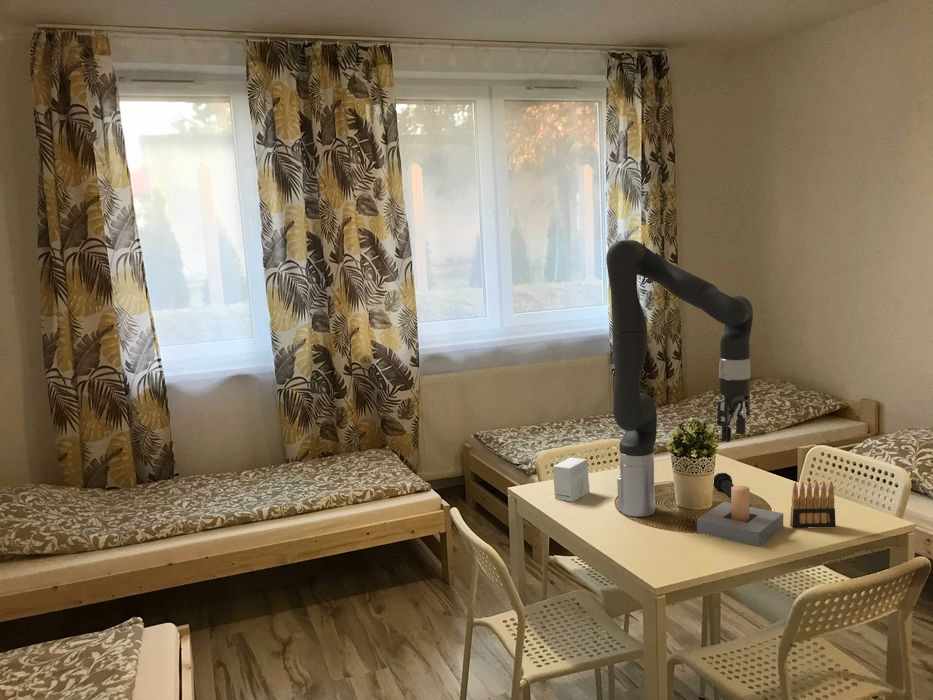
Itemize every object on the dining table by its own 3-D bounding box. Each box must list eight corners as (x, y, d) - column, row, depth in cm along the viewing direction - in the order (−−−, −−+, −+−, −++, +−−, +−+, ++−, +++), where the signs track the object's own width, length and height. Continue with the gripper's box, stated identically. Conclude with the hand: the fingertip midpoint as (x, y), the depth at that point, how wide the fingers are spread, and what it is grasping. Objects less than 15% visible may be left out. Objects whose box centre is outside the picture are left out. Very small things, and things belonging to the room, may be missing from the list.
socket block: (697, 532, 197) (696, 519, 197) (723, 514, 209) (723, 501, 208) (758, 546, 186) (758, 532, 186) (783, 526, 198) (783, 513, 198)
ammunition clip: (792, 528, 197) (792, 483, 195) (790, 525, 198) (790, 480, 197) (835, 527, 196) (836, 482, 194) (833, 524, 197) (833, 479, 196)
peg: (728, 530, 198) (728, 489, 196) (735, 525, 201) (735, 484, 199) (745, 533, 195) (745, 492, 193) (752, 528, 198) (752, 487, 196)
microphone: (754, 519, 213) (723, 488, 232) (761, 500, 211) (730, 471, 230) (736, 515, 212) (707, 484, 231) (743, 496, 210) (713, 467, 230)
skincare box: (571, 489, 237) (570, 456, 235) (589, 492, 233) (588, 459, 231) (553, 499, 229) (552, 465, 227) (572, 502, 225) (570, 468, 223)
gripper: (732, 369, 202) (731, 429, 204) (707, 378, 192) (707, 441, 194) (760, 372, 197) (759, 433, 199) (736, 381, 187) (736, 446, 189)
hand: (733, 437), depth 197 cm, fingers open, 8 cm apart
